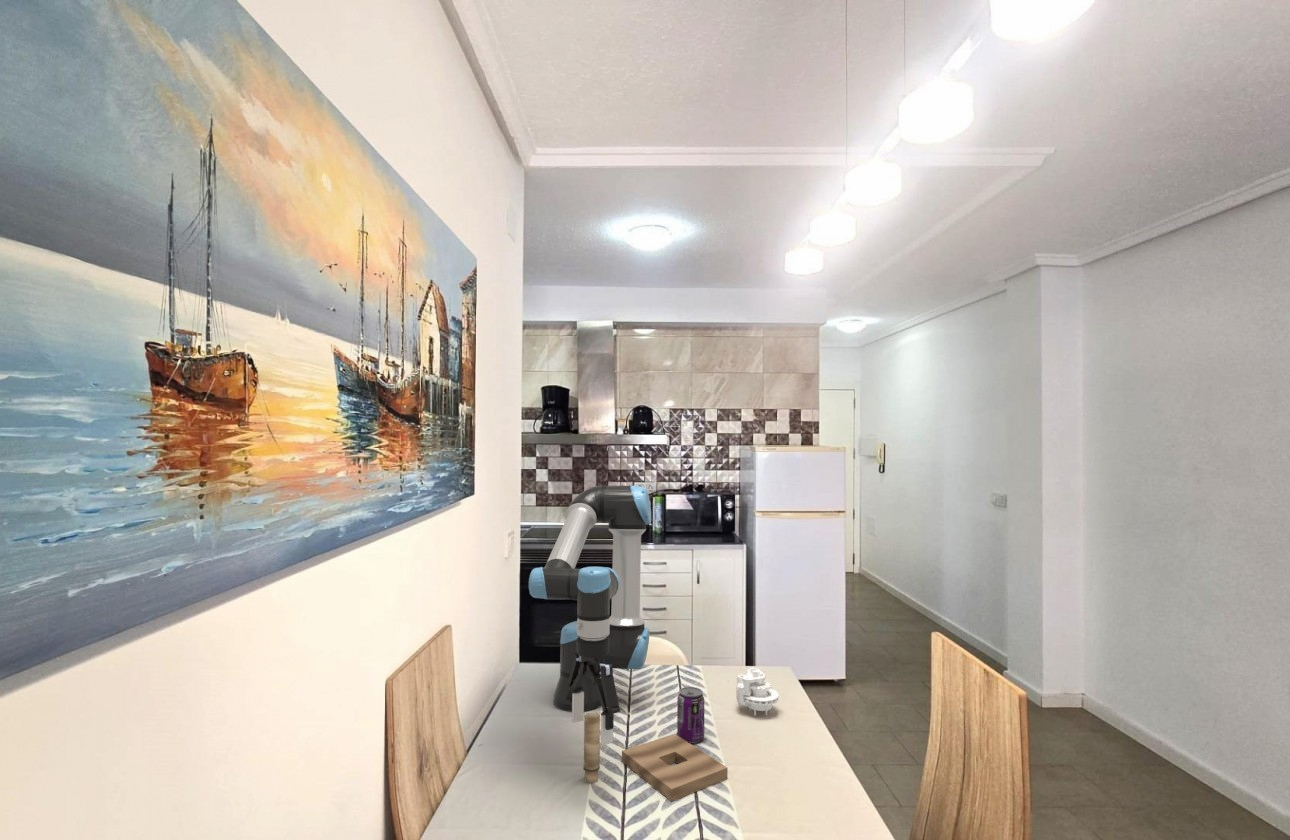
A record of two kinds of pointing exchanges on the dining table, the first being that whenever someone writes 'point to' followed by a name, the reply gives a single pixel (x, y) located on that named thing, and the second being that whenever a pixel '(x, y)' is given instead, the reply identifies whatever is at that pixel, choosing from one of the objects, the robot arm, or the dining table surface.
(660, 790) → the board
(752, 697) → the mechanical part
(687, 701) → the beverage can
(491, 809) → the dining table surface
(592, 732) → the peg
